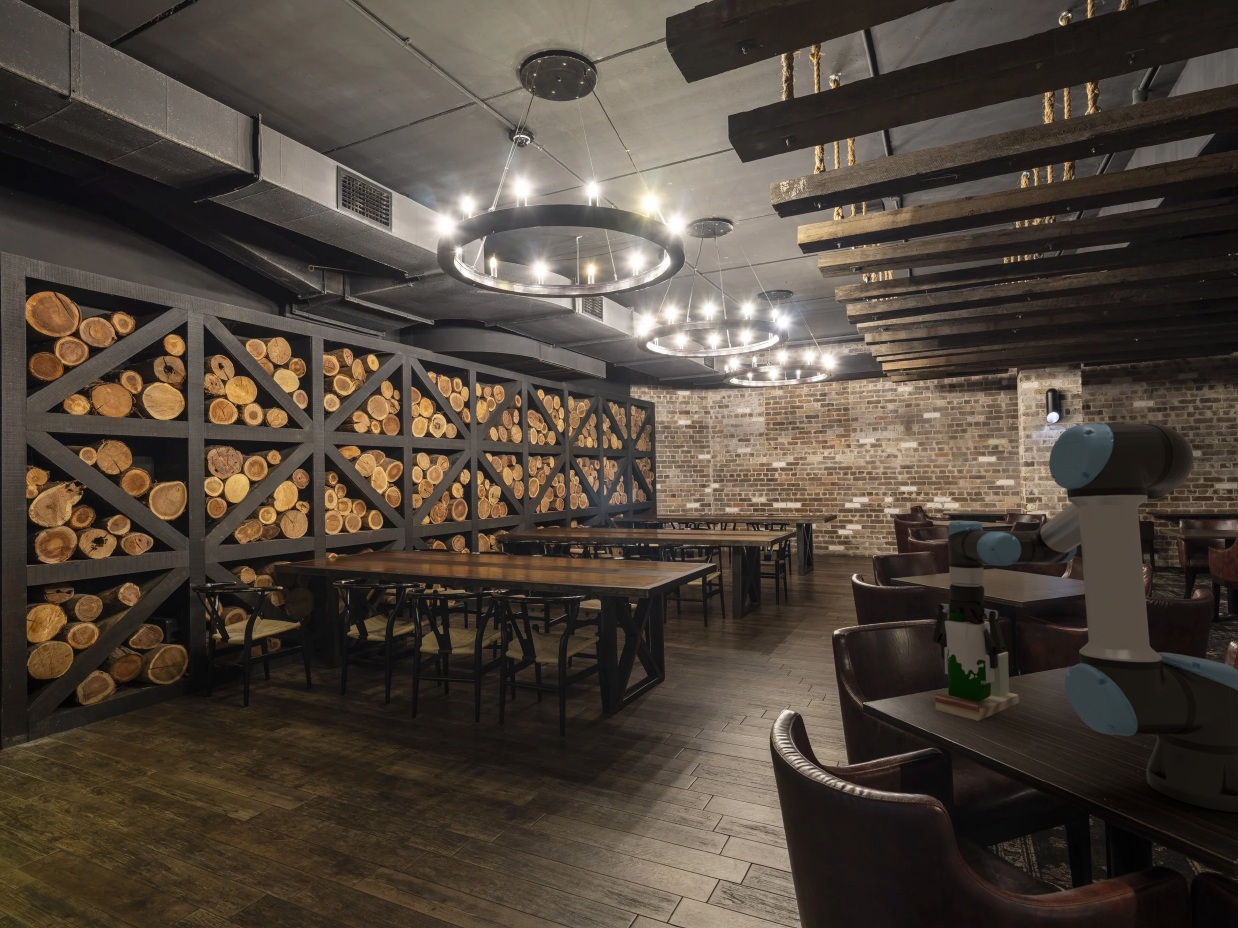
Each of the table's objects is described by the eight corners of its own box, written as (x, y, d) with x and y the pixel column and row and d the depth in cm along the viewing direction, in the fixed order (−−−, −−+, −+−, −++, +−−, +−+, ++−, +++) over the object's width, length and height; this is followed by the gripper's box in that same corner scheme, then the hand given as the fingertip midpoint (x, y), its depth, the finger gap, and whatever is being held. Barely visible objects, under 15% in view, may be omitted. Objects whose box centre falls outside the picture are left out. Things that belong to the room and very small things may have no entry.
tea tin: (1000, 696, 164) (999, 655, 164) (975, 691, 169) (973, 650, 169) (1009, 693, 167) (1008, 652, 167) (984, 687, 172) (982, 647, 172)
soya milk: (957, 688, 167) (955, 608, 168) (996, 696, 160) (994, 613, 161) (942, 695, 161) (940, 612, 162) (982, 703, 154) (980, 617, 155)
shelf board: (978, 720, 152) (977, 704, 152) (935, 709, 160) (935, 693, 160) (1018, 702, 166) (1018, 687, 166) (977, 693, 173) (977, 678, 174)
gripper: (1021, 587, 156) (1024, 684, 154) (930, 578, 173) (933, 665, 172) (1007, 590, 151) (1010, 690, 150) (915, 580, 168) (918, 670, 167)
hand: (969, 677), depth 161 cm, fingers closed on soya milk, 9 cm apart
